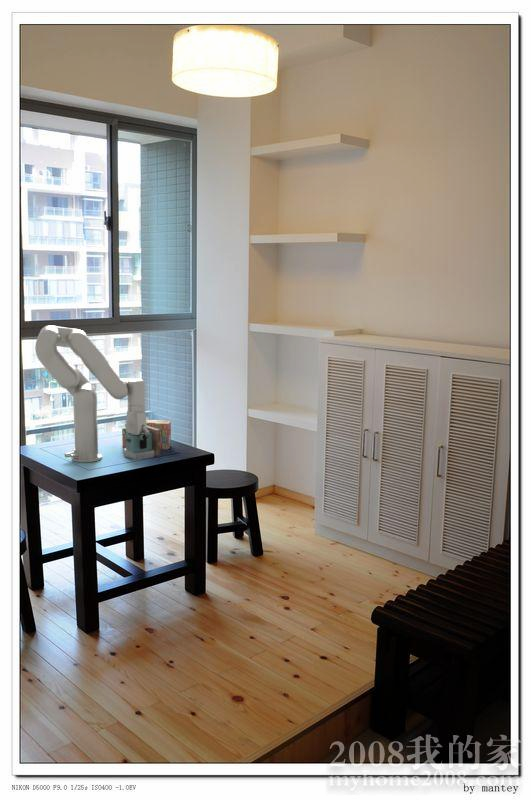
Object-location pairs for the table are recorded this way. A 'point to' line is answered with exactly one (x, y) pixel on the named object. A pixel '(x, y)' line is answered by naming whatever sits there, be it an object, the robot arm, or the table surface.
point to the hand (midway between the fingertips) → (137, 446)
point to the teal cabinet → (137, 442)
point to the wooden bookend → (150, 452)
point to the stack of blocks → (164, 432)
